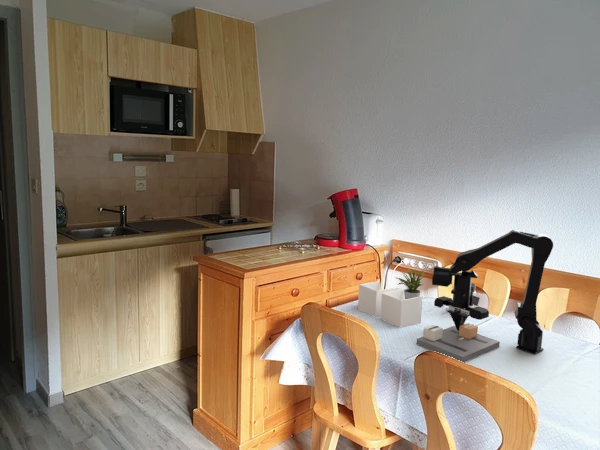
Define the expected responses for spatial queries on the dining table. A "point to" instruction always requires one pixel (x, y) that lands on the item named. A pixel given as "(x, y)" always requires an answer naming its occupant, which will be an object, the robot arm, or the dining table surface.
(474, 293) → the jar
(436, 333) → the left fader
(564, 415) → the dining table surface
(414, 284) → the house plant
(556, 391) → the dining table surface
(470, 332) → the right fader
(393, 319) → the white cube planter
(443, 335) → the mixer board
